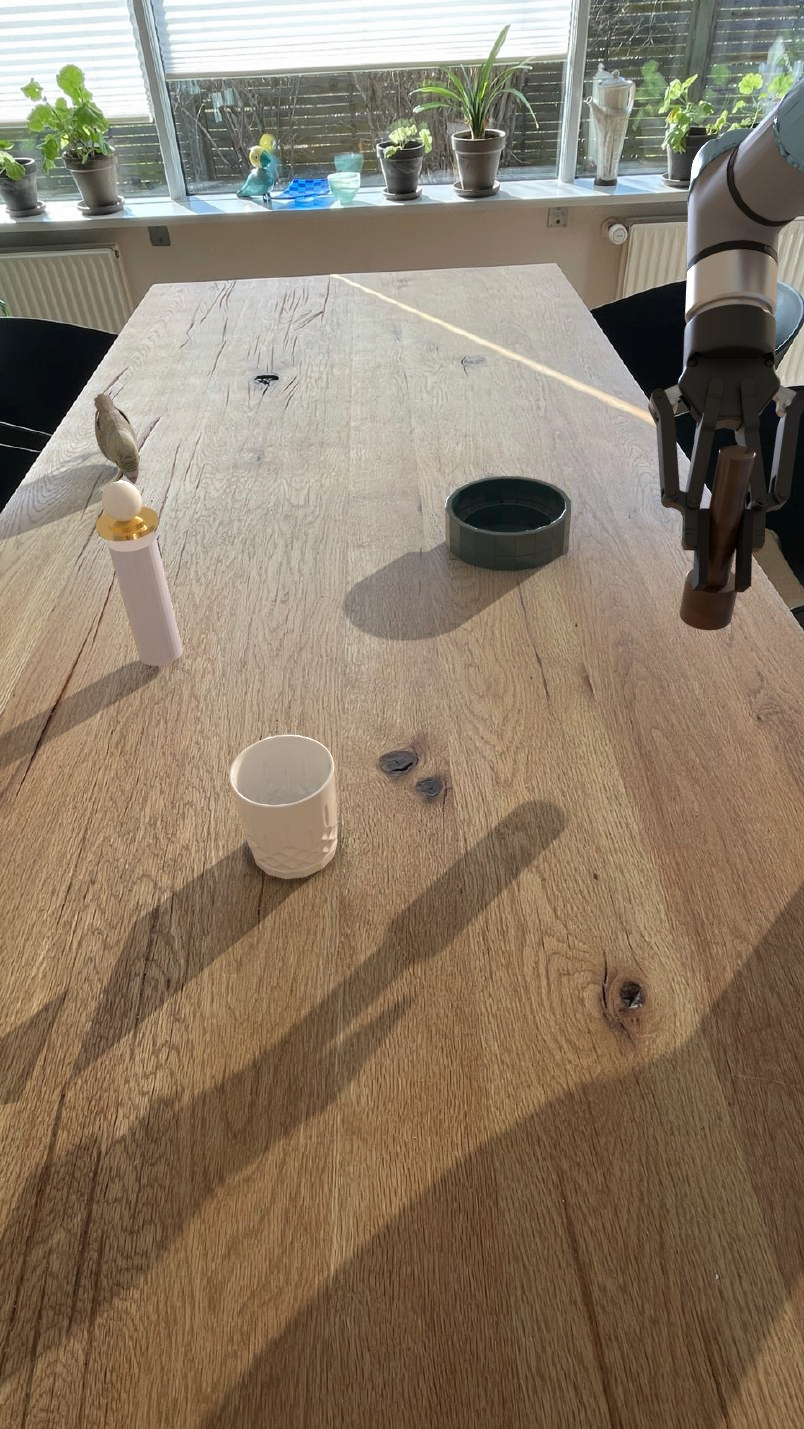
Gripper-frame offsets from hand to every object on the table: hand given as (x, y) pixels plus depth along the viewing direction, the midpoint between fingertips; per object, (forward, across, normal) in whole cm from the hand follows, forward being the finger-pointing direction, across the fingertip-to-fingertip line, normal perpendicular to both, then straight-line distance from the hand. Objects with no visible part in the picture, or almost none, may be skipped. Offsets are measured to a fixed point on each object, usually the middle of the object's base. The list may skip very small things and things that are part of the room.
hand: (721, 587), depth 81 cm
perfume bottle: (+7, +54, -13) cm, 56 cm away
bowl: (-11, +19, -30) cm, 37 cm away
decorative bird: (-26, +75, -46) cm, 92 cm away
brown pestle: (+1, 0, -7) cm, 7 cm away
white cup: (+25, +34, +5) cm, 42 cm away
